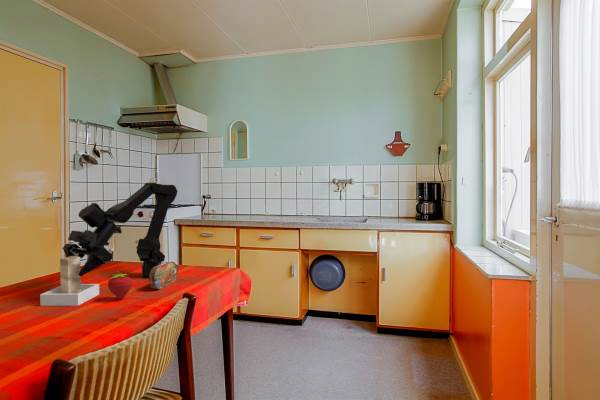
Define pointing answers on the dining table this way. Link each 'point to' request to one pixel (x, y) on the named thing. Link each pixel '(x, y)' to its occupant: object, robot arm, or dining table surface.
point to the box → (69, 296)
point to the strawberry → (120, 285)
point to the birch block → (70, 275)
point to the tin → (163, 275)
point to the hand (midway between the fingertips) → (70, 274)
